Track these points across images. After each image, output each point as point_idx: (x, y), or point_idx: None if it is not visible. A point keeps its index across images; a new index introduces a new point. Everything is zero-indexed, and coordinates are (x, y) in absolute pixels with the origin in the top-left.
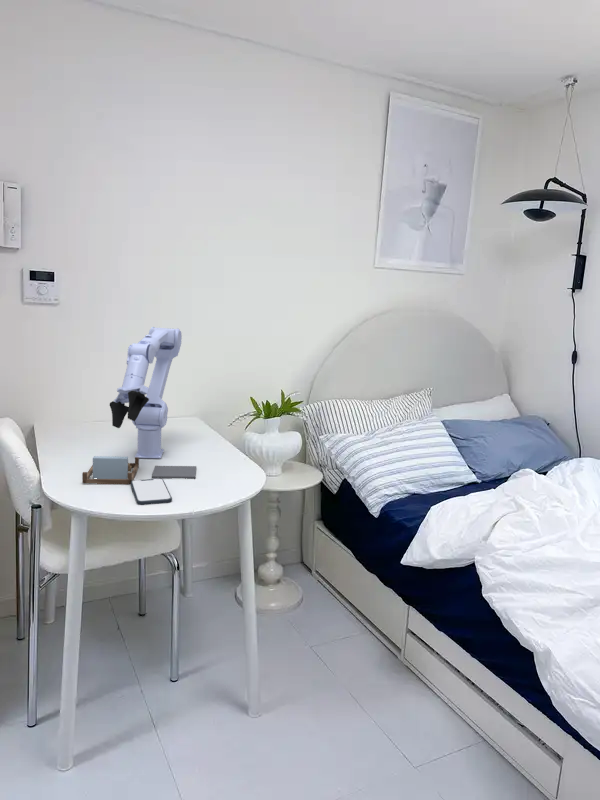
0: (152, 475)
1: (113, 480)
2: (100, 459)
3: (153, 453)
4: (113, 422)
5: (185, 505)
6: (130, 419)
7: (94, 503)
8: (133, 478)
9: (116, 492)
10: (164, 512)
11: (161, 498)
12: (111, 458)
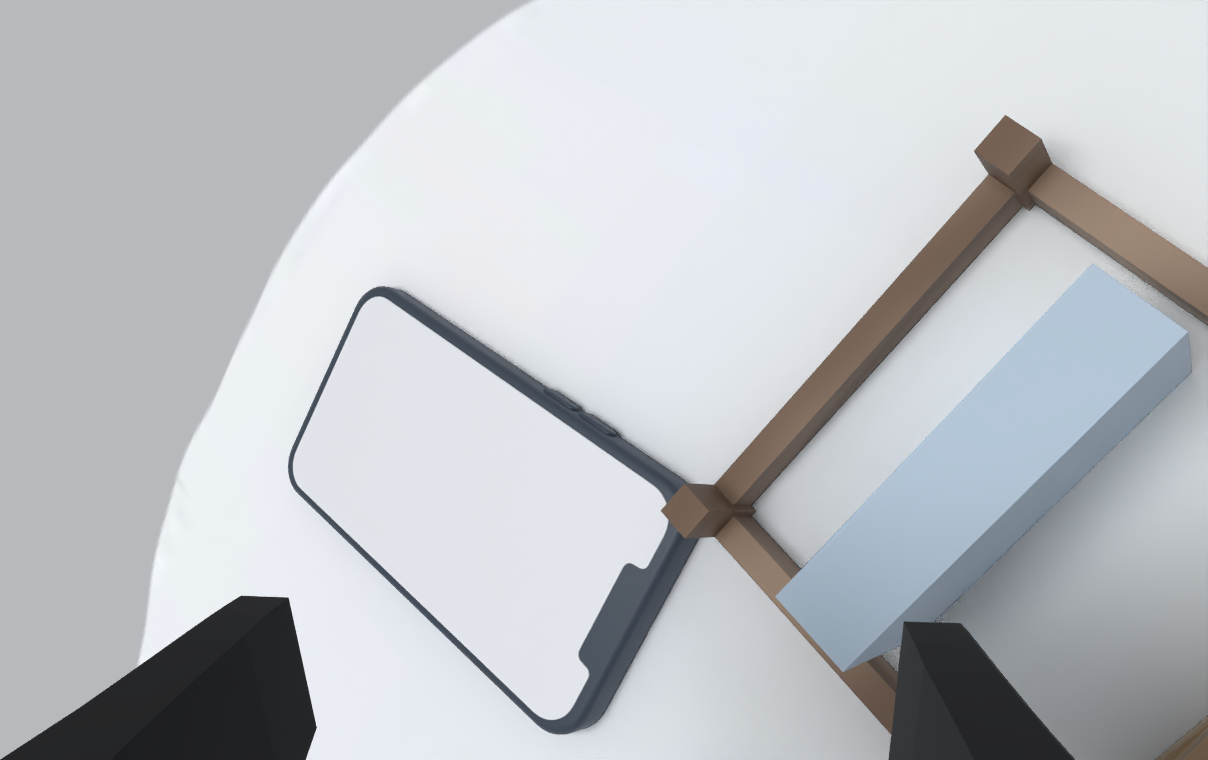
0: None
1: (802, 385)
2: (1015, 349)
3: None
4: (919, 648)
5: (233, 498)
6: (293, 653)
7: (564, 66)
8: None
9: (638, 299)
10: (242, 339)
11: (317, 428)
12: (909, 457)
